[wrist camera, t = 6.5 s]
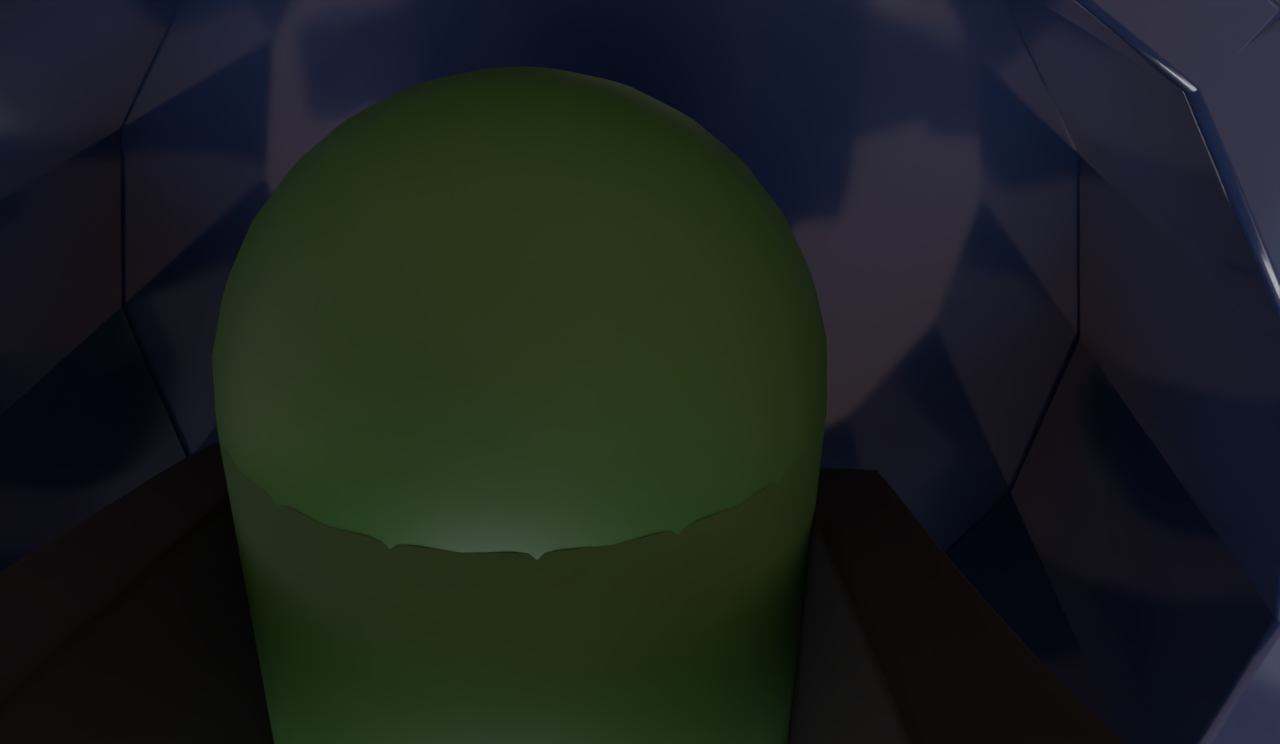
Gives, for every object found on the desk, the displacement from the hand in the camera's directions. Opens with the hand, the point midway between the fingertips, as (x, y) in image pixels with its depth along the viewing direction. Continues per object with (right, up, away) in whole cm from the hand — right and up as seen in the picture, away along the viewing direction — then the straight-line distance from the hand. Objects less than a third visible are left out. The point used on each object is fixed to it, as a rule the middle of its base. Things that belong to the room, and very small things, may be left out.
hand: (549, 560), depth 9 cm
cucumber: (0, +1, +1) cm, 1 cm away
